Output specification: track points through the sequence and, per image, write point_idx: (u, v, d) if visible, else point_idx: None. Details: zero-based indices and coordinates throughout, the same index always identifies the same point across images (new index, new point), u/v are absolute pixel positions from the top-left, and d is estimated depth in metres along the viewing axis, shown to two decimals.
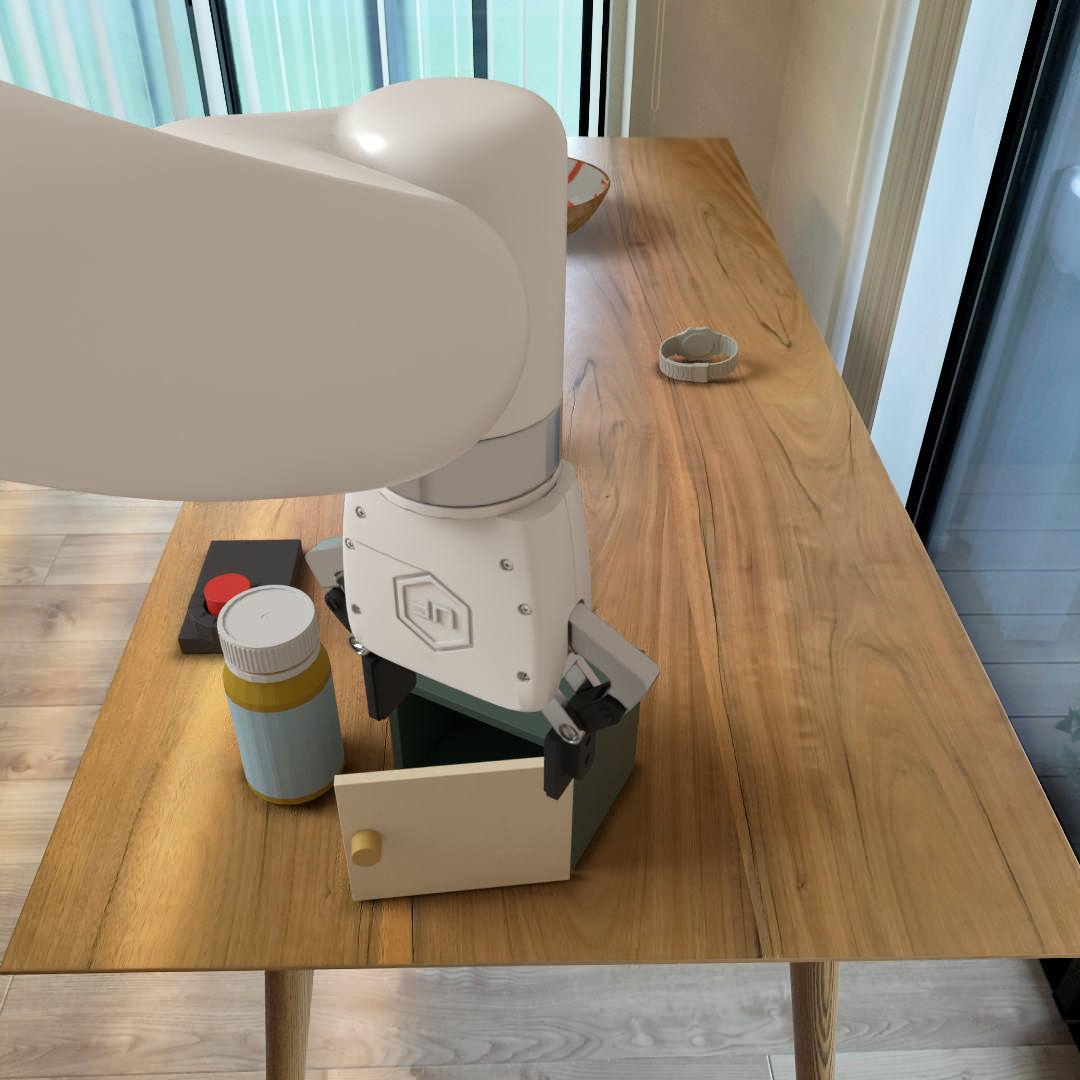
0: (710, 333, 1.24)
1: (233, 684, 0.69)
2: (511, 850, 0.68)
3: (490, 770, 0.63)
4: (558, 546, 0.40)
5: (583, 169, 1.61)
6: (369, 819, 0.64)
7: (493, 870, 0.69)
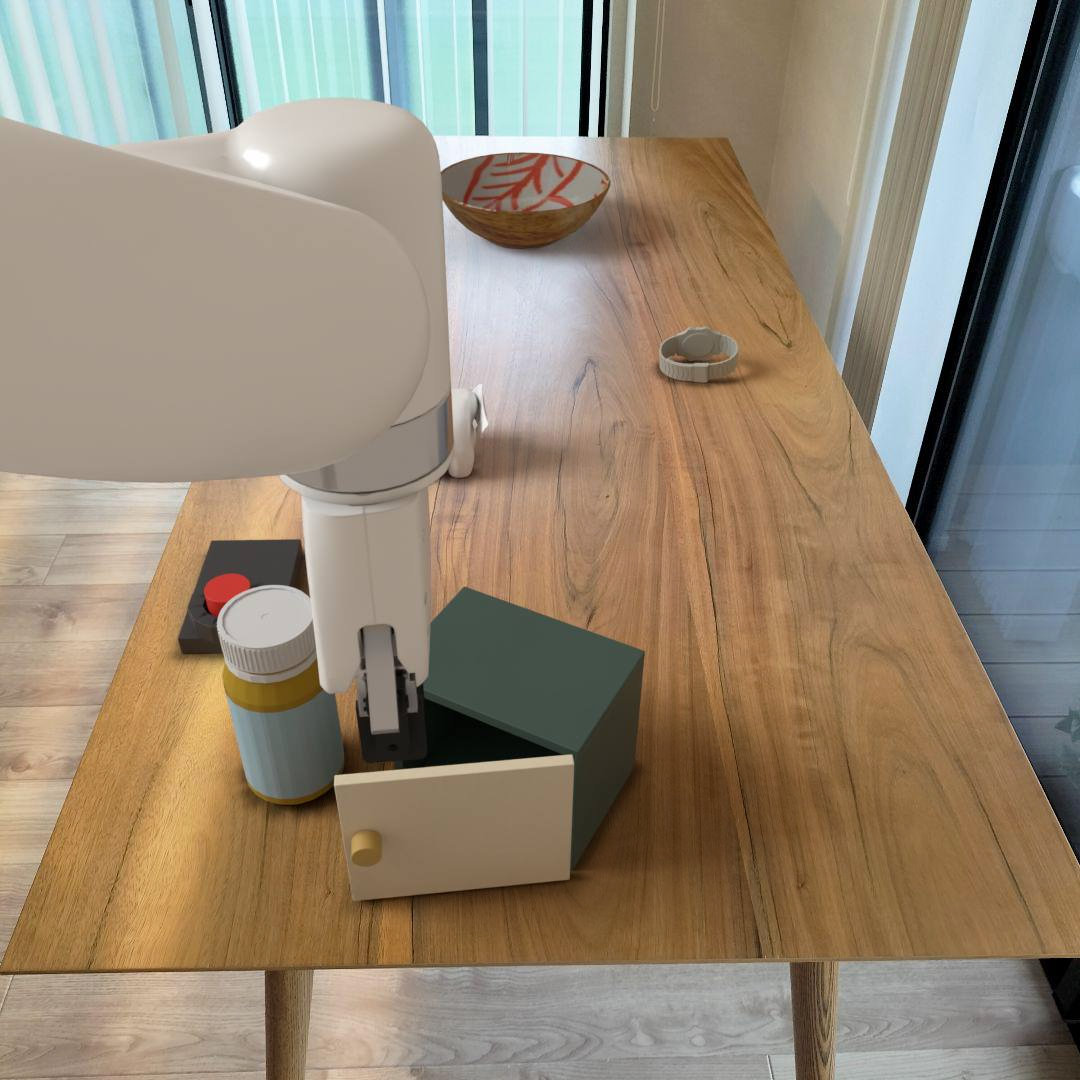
0: (710, 333, 1.24)
1: (233, 684, 0.69)
2: (511, 850, 0.68)
3: (490, 770, 0.63)
4: (340, 553, 0.42)
5: (583, 169, 1.61)
6: (369, 819, 0.64)
7: (493, 870, 0.69)
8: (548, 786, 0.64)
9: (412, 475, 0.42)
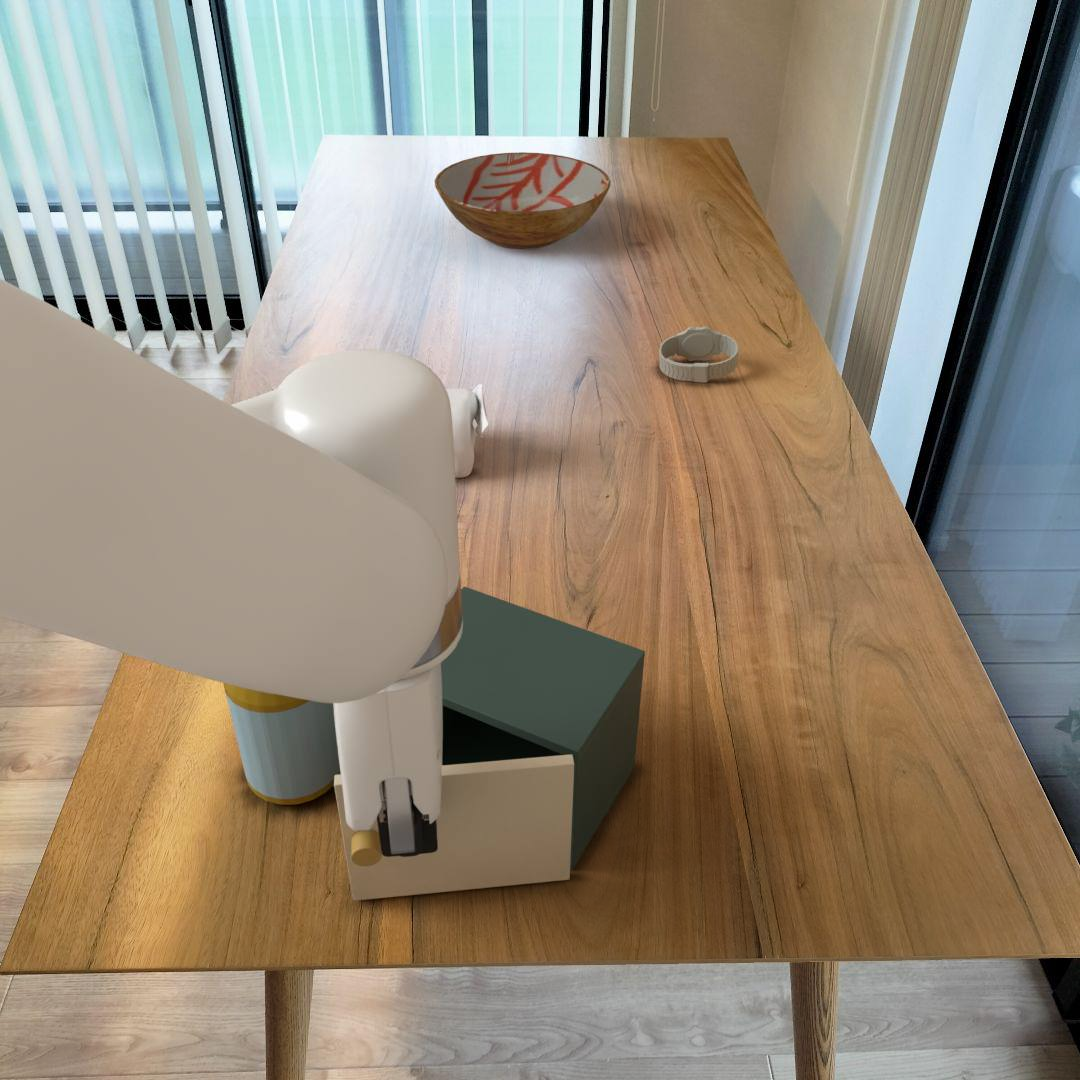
0: (710, 333, 1.24)
1: None
2: (511, 850, 0.68)
3: (490, 770, 0.63)
4: (365, 723, 0.50)
5: (583, 169, 1.61)
6: None
7: (493, 870, 0.69)
8: (548, 786, 0.64)
9: (427, 657, 0.50)
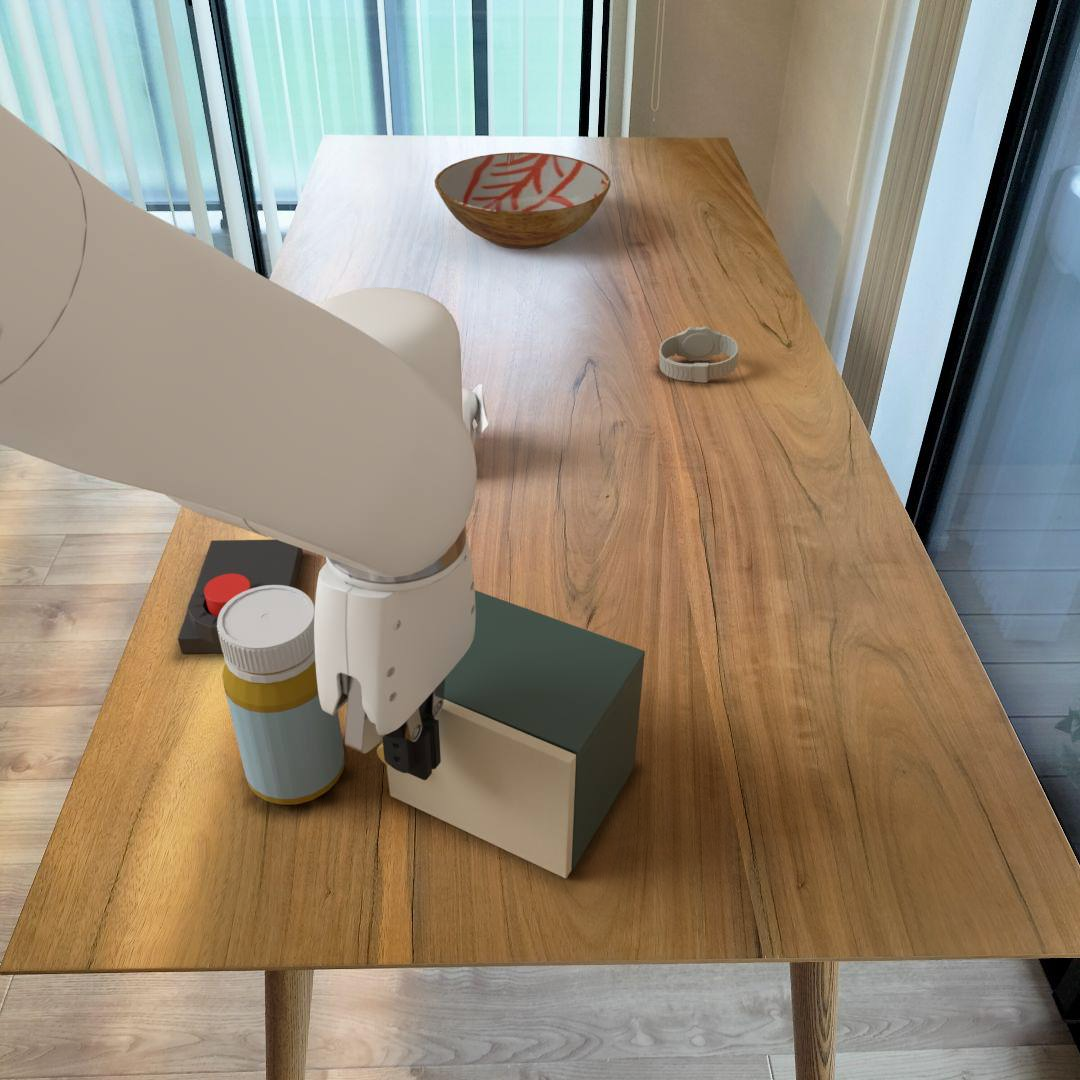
0: (710, 333, 1.24)
1: (233, 684, 0.69)
2: (515, 820, 0.70)
3: (498, 731, 0.66)
4: (328, 614, 0.56)
5: (583, 169, 1.61)
6: None
7: (500, 831, 0.71)
8: (547, 773, 0.65)
9: (391, 578, 0.54)
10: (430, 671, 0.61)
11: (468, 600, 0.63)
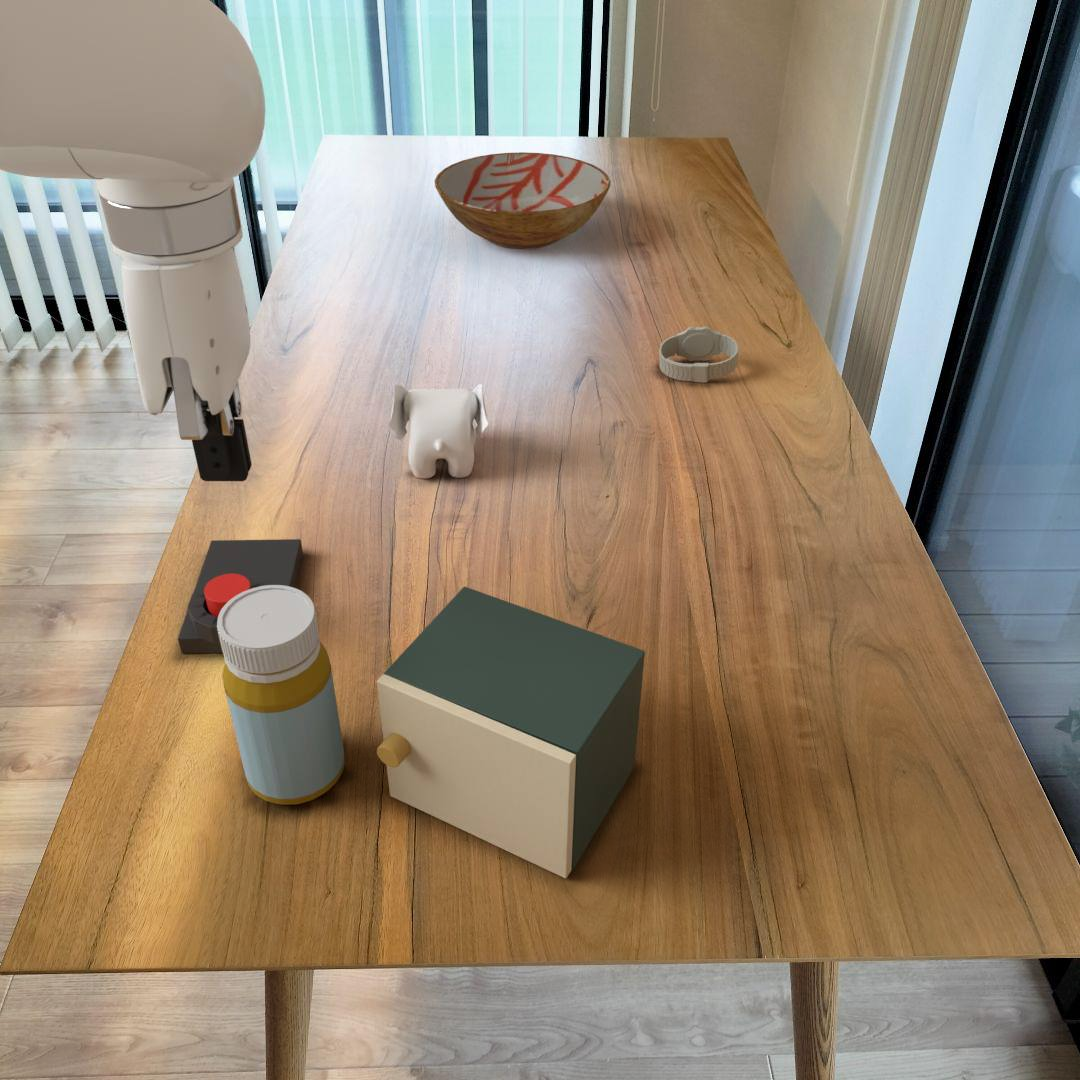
0: (710, 333, 1.24)
1: (233, 684, 0.69)
2: (515, 820, 0.70)
3: (498, 731, 0.66)
4: (143, 298, 0.61)
5: (583, 169, 1.61)
6: (402, 726, 0.70)
7: (500, 831, 0.71)
8: (547, 774, 0.65)
9: (195, 246, 0.61)
10: (234, 355, 0.68)
11: (242, 296, 0.70)
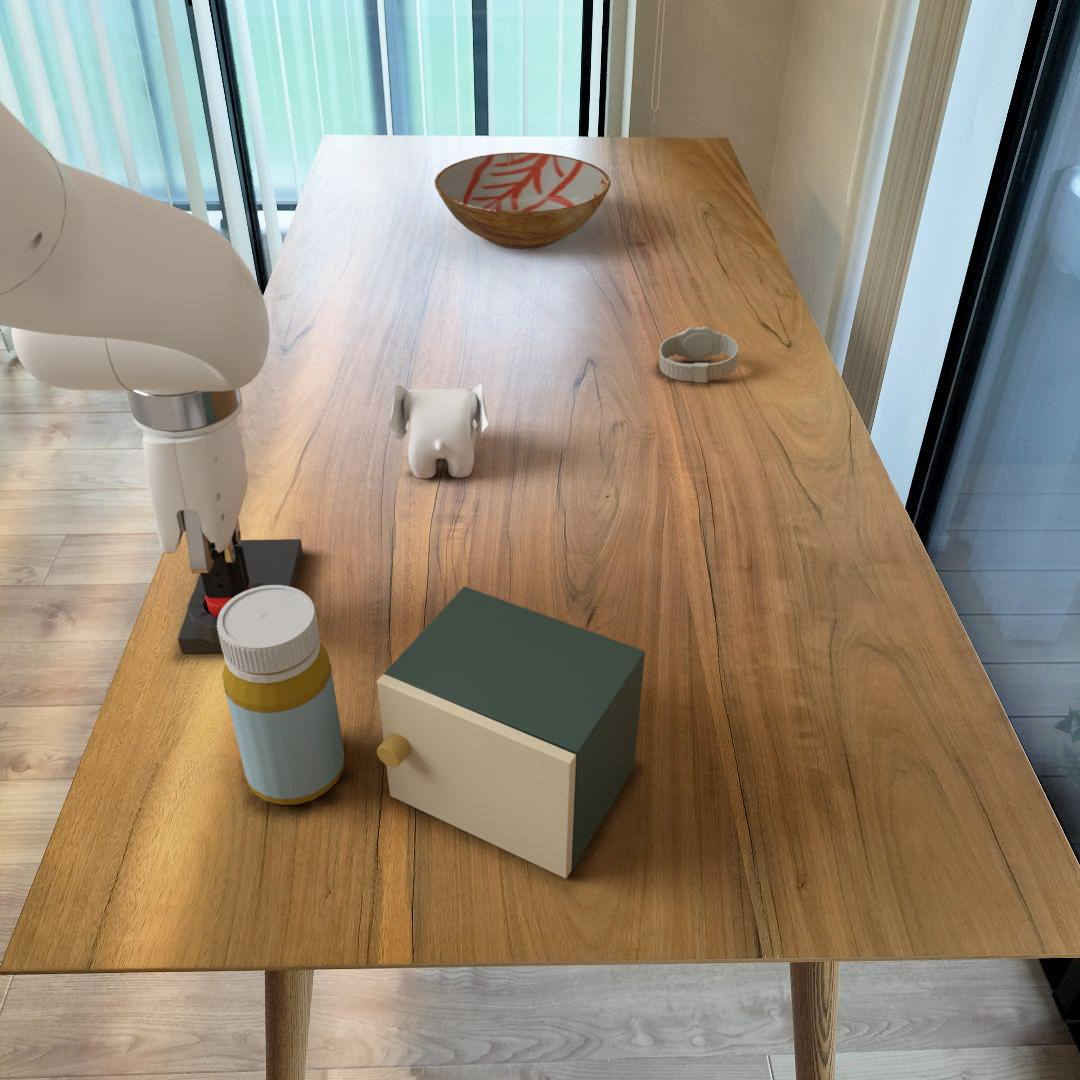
0: (710, 333, 1.24)
1: (233, 684, 0.69)
2: (515, 820, 0.70)
3: (498, 731, 0.66)
4: (161, 465, 0.74)
5: (583, 169, 1.61)
6: (402, 726, 0.70)
7: (500, 831, 0.71)
8: (547, 774, 0.65)
9: (204, 422, 0.74)
10: (236, 499, 0.81)
11: (241, 445, 0.83)
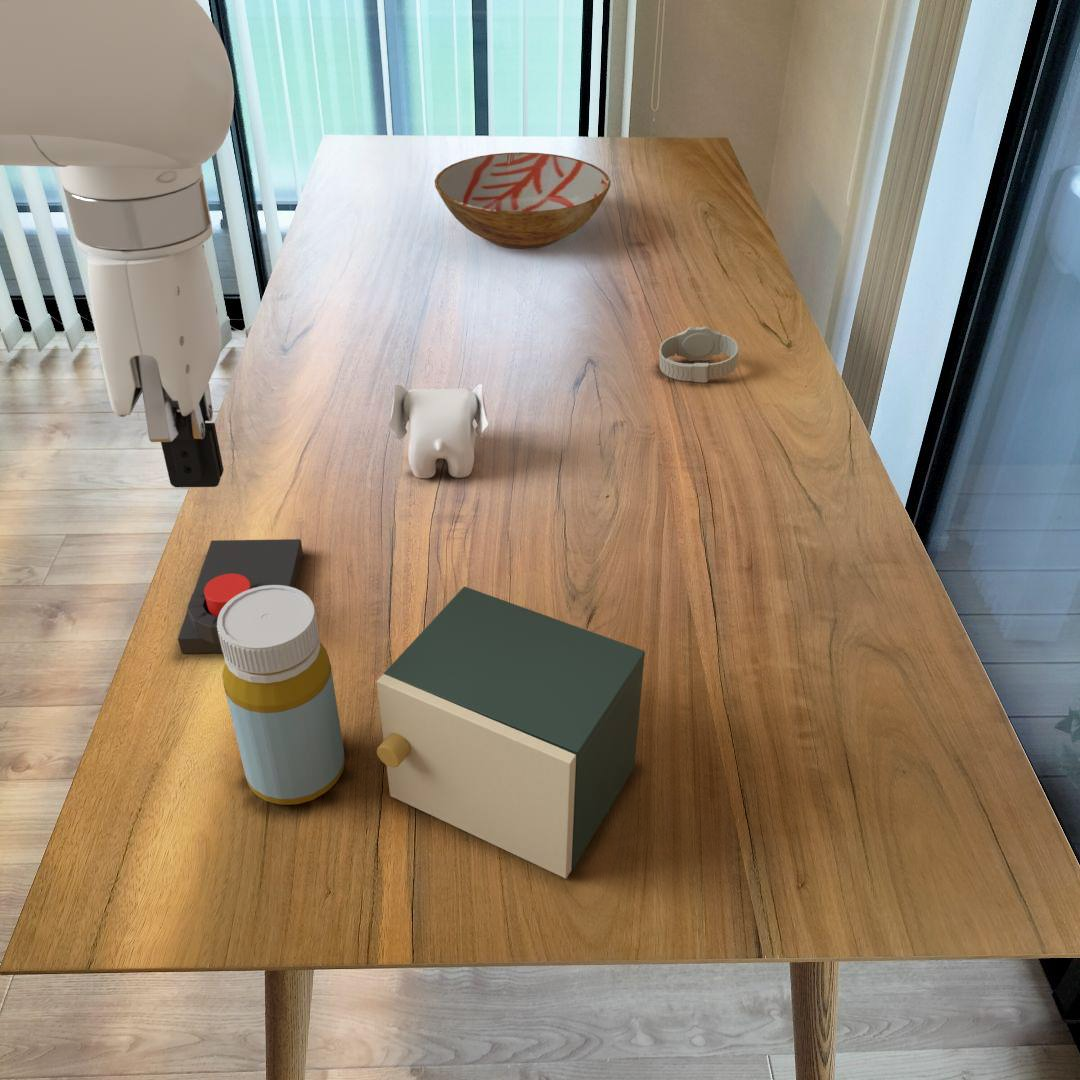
0: (710, 333, 1.24)
1: (233, 684, 0.69)
2: (515, 820, 0.70)
3: (498, 731, 0.66)
4: (110, 294, 0.60)
5: (583, 169, 1.61)
6: (402, 726, 0.70)
7: (500, 831, 0.71)
8: (547, 774, 0.65)
9: (163, 241, 0.59)
10: (205, 355, 0.66)
11: (213, 296, 0.69)
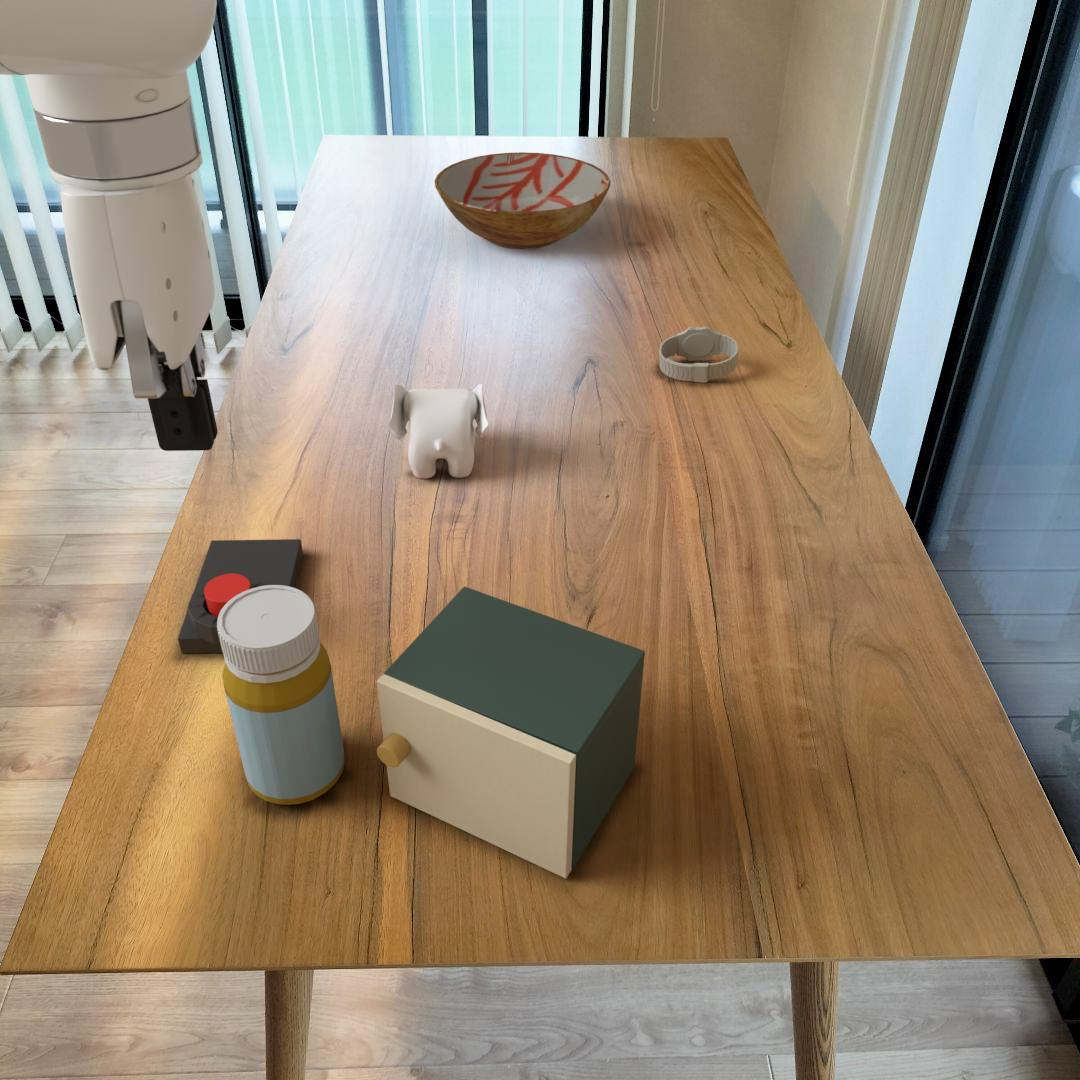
0: (710, 333, 1.24)
1: (233, 684, 0.69)
2: (515, 820, 0.70)
3: (498, 731, 0.66)
4: (87, 230, 0.53)
5: (583, 169, 1.61)
6: (402, 726, 0.70)
7: (500, 831, 0.71)
8: (547, 774, 0.65)
9: (146, 169, 0.53)
10: (195, 303, 0.60)
11: (204, 238, 0.62)
